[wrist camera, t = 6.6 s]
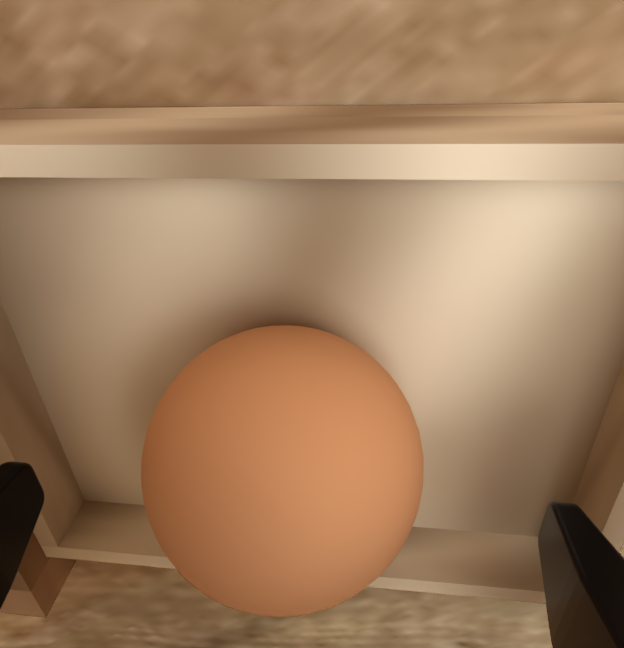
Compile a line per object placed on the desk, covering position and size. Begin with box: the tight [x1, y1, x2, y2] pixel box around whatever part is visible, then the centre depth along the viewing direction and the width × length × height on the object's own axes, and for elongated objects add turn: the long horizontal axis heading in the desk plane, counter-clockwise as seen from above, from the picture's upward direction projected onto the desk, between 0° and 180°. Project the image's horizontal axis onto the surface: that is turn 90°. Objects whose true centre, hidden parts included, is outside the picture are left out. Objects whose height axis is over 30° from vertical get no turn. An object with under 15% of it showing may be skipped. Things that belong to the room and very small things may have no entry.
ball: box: [141, 325, 424, 617], centre depth 10 cm, size 5×5×5 cm
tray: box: [0, 103, 624, 604], centre depth 12 cm, size 14×11×2 cm
